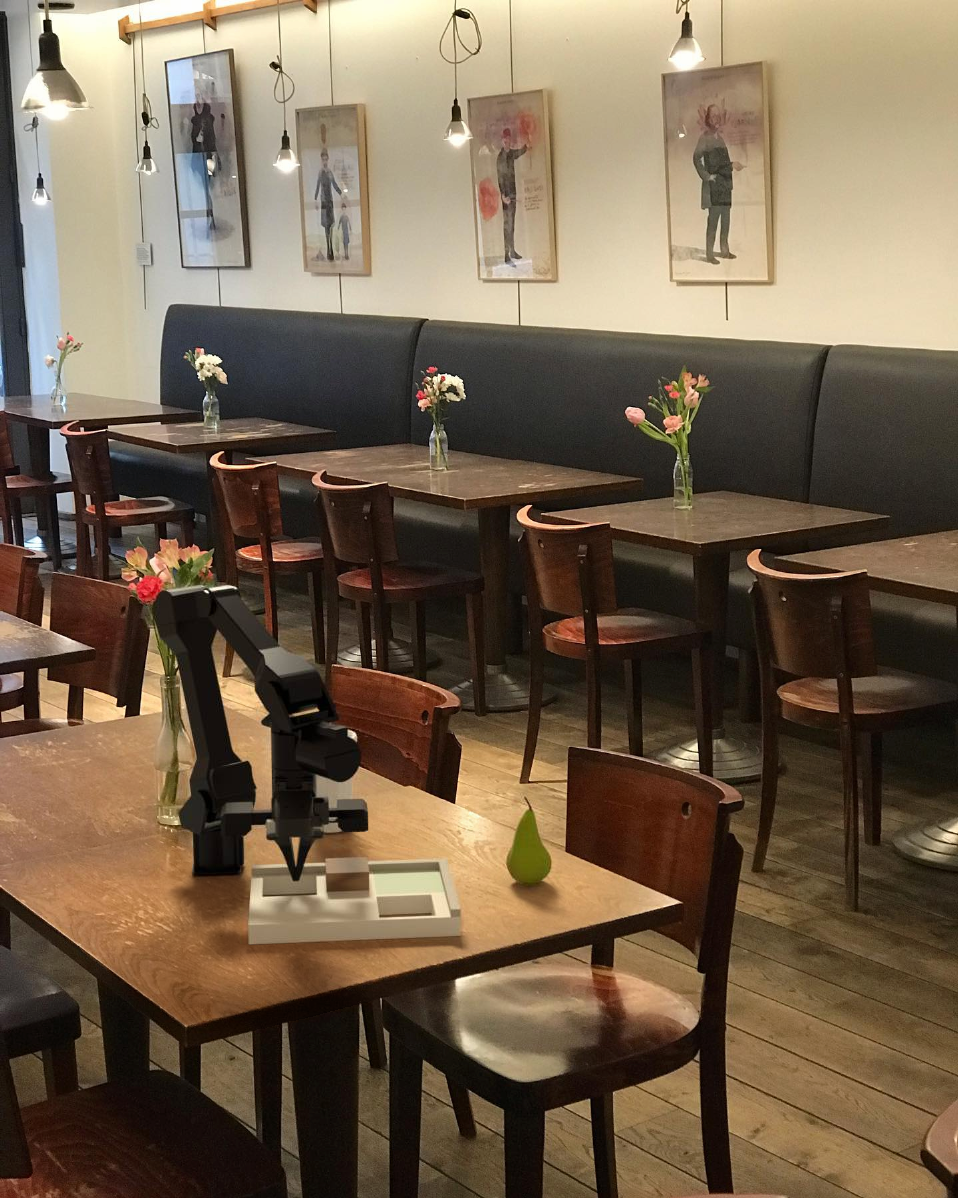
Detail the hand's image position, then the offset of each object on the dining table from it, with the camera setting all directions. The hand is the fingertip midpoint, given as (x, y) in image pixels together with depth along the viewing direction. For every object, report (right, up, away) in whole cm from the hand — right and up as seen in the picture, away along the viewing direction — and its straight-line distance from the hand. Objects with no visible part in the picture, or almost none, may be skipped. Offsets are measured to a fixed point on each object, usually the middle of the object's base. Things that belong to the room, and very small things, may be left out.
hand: (296, 880), depth 207 cm
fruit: (+30, -2, +9) cm, 32 cm away
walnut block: (+7, -1, +1) cm, 7 cm away
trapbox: (+8, -4, -2) cm, 9 cm away
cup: (+2, +2, +30) cm, 30 cm away
